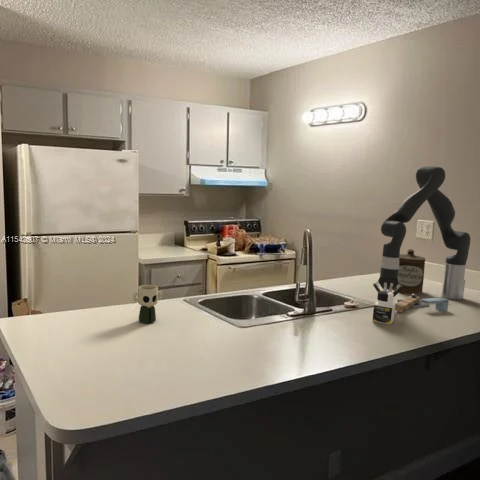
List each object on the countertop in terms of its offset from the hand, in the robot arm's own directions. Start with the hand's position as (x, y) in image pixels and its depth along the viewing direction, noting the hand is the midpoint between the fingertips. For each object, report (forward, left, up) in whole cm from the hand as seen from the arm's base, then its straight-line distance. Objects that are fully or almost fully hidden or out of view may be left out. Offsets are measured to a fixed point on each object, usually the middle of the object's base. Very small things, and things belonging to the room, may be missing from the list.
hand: (385, 305), depth 206 cm
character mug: (+104, -6, -2) cm, 104 cm away
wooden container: (-35, -26, -2) cm, 44 cm away
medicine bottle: (+13, +14, -2) cm, 19 cm away
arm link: (-11, 0, -1) cm, 11 cm away
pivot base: (-19, -4, -2) cm, 20 cm away
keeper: (-21, +7, -2) cm, 22 cm away
